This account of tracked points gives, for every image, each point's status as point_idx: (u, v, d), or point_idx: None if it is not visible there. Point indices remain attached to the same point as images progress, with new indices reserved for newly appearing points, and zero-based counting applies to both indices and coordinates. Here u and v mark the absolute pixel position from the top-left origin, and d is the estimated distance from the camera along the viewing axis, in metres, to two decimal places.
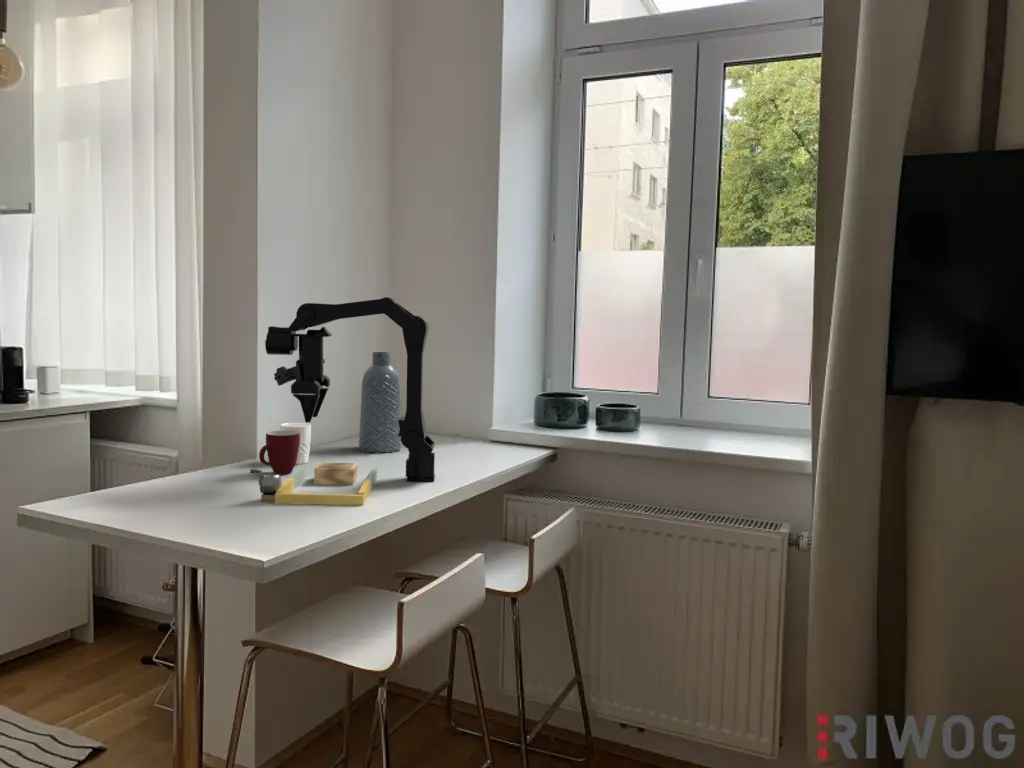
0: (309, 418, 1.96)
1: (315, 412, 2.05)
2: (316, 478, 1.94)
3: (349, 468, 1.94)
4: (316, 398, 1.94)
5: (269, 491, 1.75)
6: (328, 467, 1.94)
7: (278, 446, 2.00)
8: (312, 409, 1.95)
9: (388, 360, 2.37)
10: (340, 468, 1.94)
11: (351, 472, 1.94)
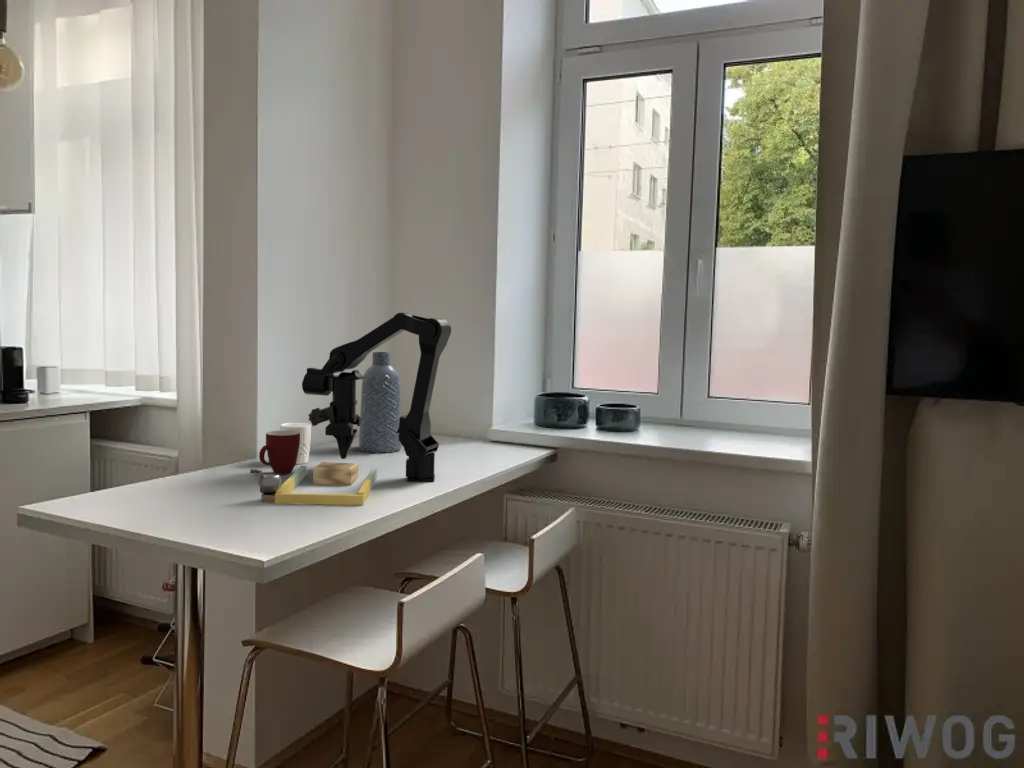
0: (344, 455, 2.07)
1: None
2: (315, 477, 1.94)
3: (347, 468, 1.94)
4: (352, 436, 2.05)
5: (269, 491, 1.75)
6: (327, 467, 1.95)
7: (278, 446, 2.00)
8: (347, 446, 2.07)
9: (388, 360, 2.37)
10: (338, 468, 1.94)
11: (349, 472, 1.94)
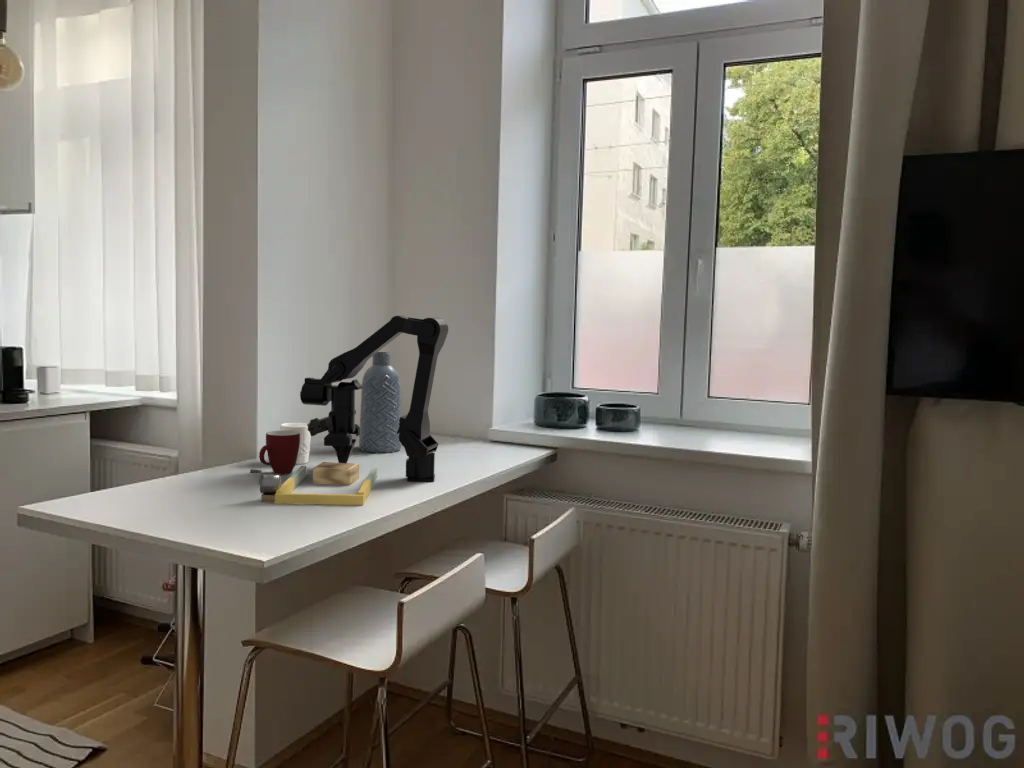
0: None
1: None
2: (315, 477, 1.94)
3: (346, 468, 1.94)
4: (350, 446, 2.04)
5: (269, 491, 1.75)
6: (326, 467, 1.95)
7: (278, 446, 2.00)
8: (346, 457, 2.06)
9: (388, 360, 2.37)
10: (338, 468, 1.94)
11: (348, 473, 1.93)
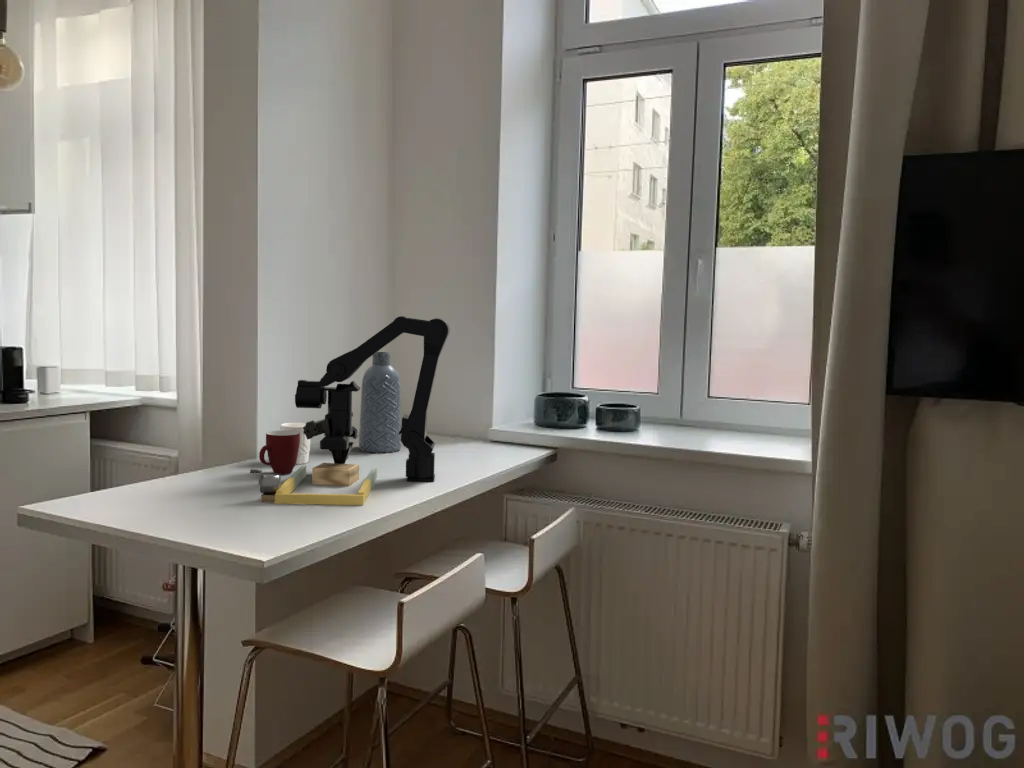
0: None
1: None
2: (314, 478, 1.94)
3: (346, 469, 1.93)
4: (347, 450, 1.99)
5: (269, 491, 1.75)
6: (326, 468, 1.94)
7: (278, 446, 2.00)
8: (343, 460, 2.01)
9: (388, 360, 2.37)
10: (337, 469, 1.93)
11: (347, 473, 1.93)
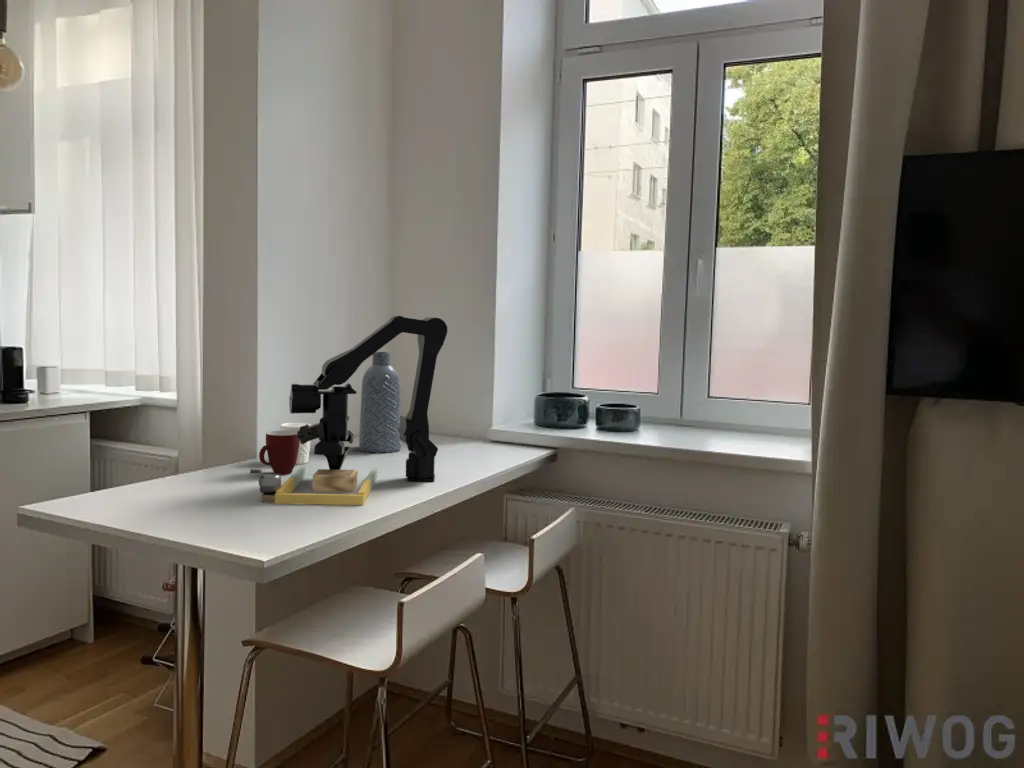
0: None
1: None
2: (315, 485, 1.87)
3: (349, 475, 1.87)
4: (343, 455, 1.92)
5: (269, 491, 1.75)
6: (327, 474, 1.87)
7: (278, 446, 2.00)
8: (339, 466, 1.94)
9: (388, 360, 2.37)
10: (340, 475, 1.87)
11: (351, 479, 1.87)
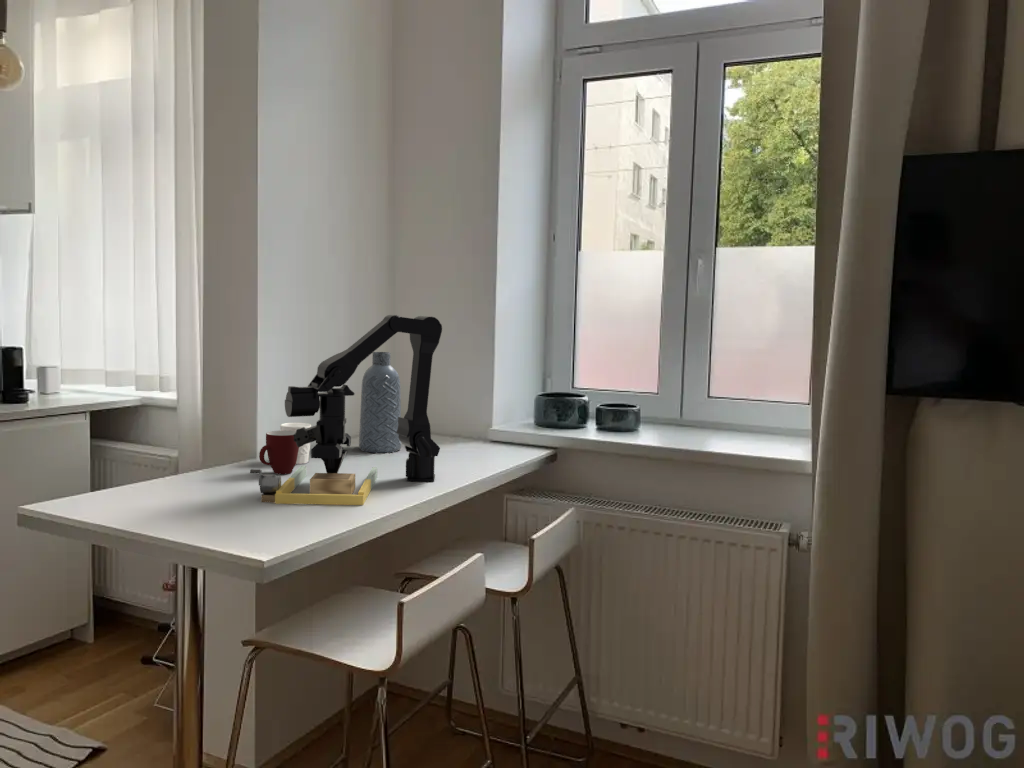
0: None
1: None
2: (312, 489, 1.82)
3: (347, 479, 1.83)
4: (340, 458, 1.88)
5: (269, 491, 1.75)
6: (324, 478, 1.83)
7: (278, 446, 2.00)
8: (336, 469, 1.90)
9: (388, 360, 2.37)
10: (337, 479, 1.83)
11: (349, 483, 1.83)
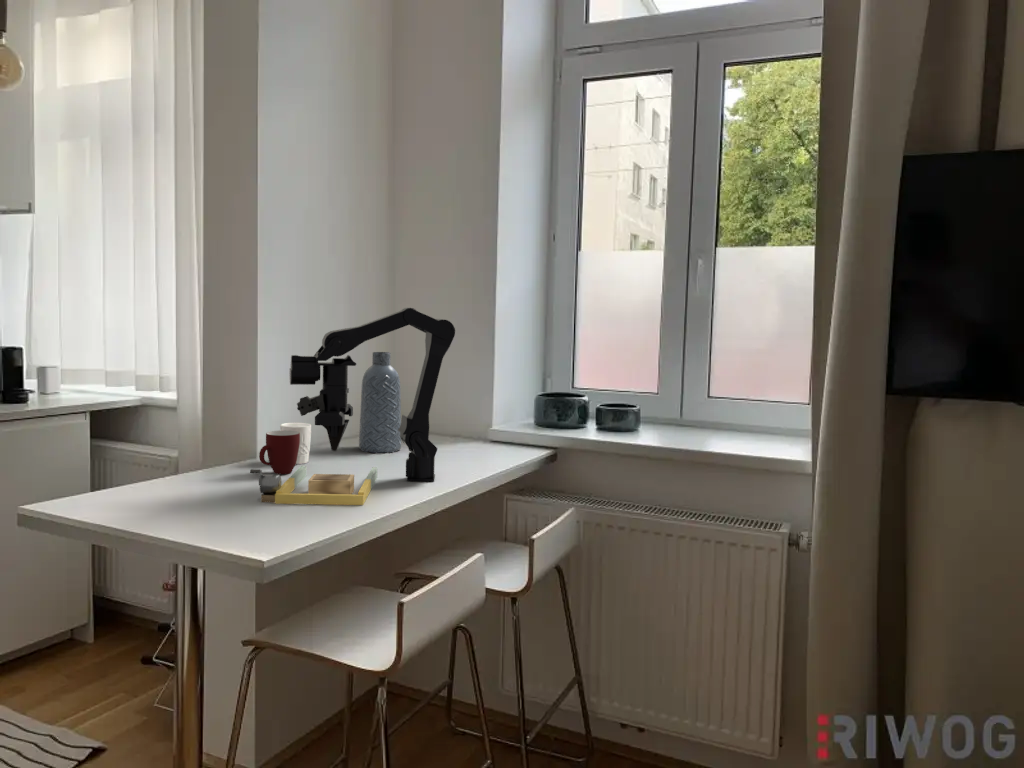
0: (335, 446, 1.95)
1: None
2: (311, 491, 1.81)
3: (346, 480, 1.81)
4: (343, 427, 1.93)
5: (269, 491, 1.75)
6: (323, 479, 1.81)
7: (278, 446, 2.00)
8: (339, 438, 1.94)
9: (388, 360, 2.37)
10: (336, 480, 1.81)
11: (348, 484, 1.81)
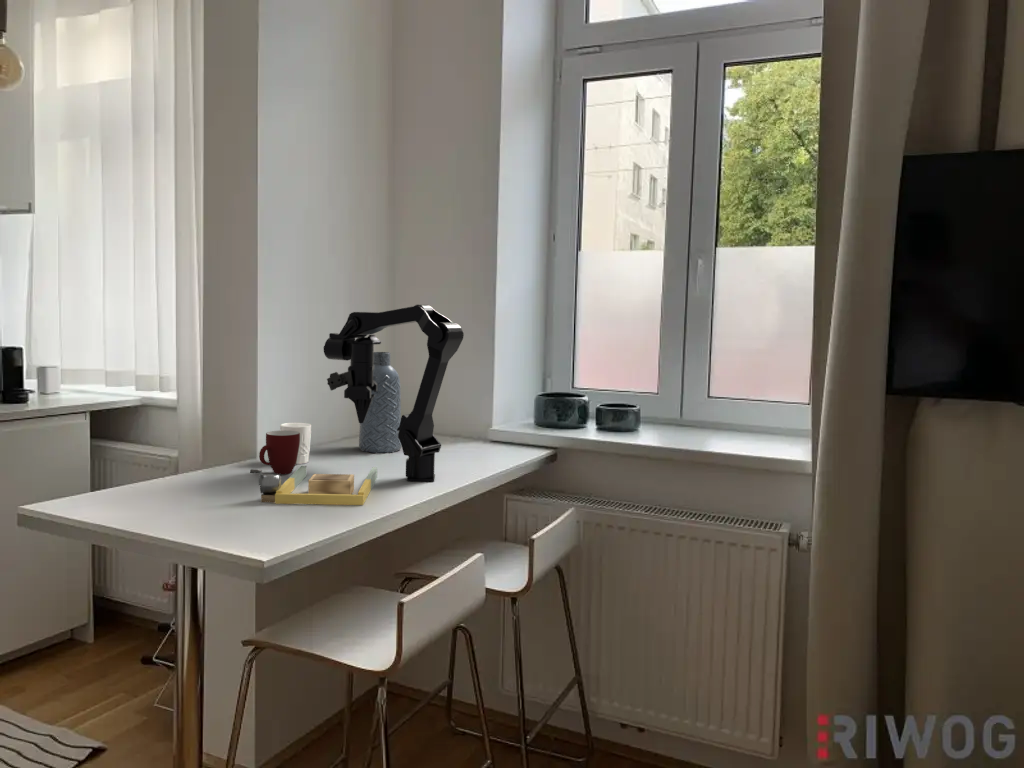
0: (362, 419, 2.10)
1: None
2: (311, 491, 1.81)
3: (346, 480, 1.81)
4: (369, 401, 2.08)
5: (269, 491, 1.75)
6: (323, 479, 1.81)
7: (278, 446, 2.00)
8: (365, 411, 2.09)
9: (388, 360, 2.37)
10: (336, 480, 1.81)
11: (348, 484, 1.81)
